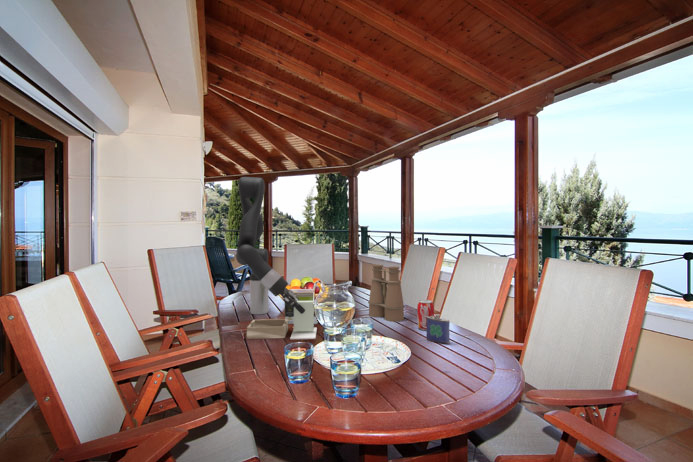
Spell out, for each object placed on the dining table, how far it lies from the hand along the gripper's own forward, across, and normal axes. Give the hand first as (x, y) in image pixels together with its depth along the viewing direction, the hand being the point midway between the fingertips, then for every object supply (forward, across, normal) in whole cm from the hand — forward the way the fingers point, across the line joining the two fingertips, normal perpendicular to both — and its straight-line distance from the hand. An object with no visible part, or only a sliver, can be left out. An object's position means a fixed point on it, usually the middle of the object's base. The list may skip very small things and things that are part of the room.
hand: (303, 311), depth 149 cm
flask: (+44, -14, -30) cm, 55 cm away
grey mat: (+7, 0, +7) cm, 9 cm away
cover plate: (+6, 0, +6) cm, 8 cm away
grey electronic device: (+5, +18, +8) cm, 21 cm away
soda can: (+44, +2, -30) cm, 53 cm away
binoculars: (+34, +24, -20) cm, 46 cm away
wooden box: (-4, 0, +17) cm, 18 cm away
